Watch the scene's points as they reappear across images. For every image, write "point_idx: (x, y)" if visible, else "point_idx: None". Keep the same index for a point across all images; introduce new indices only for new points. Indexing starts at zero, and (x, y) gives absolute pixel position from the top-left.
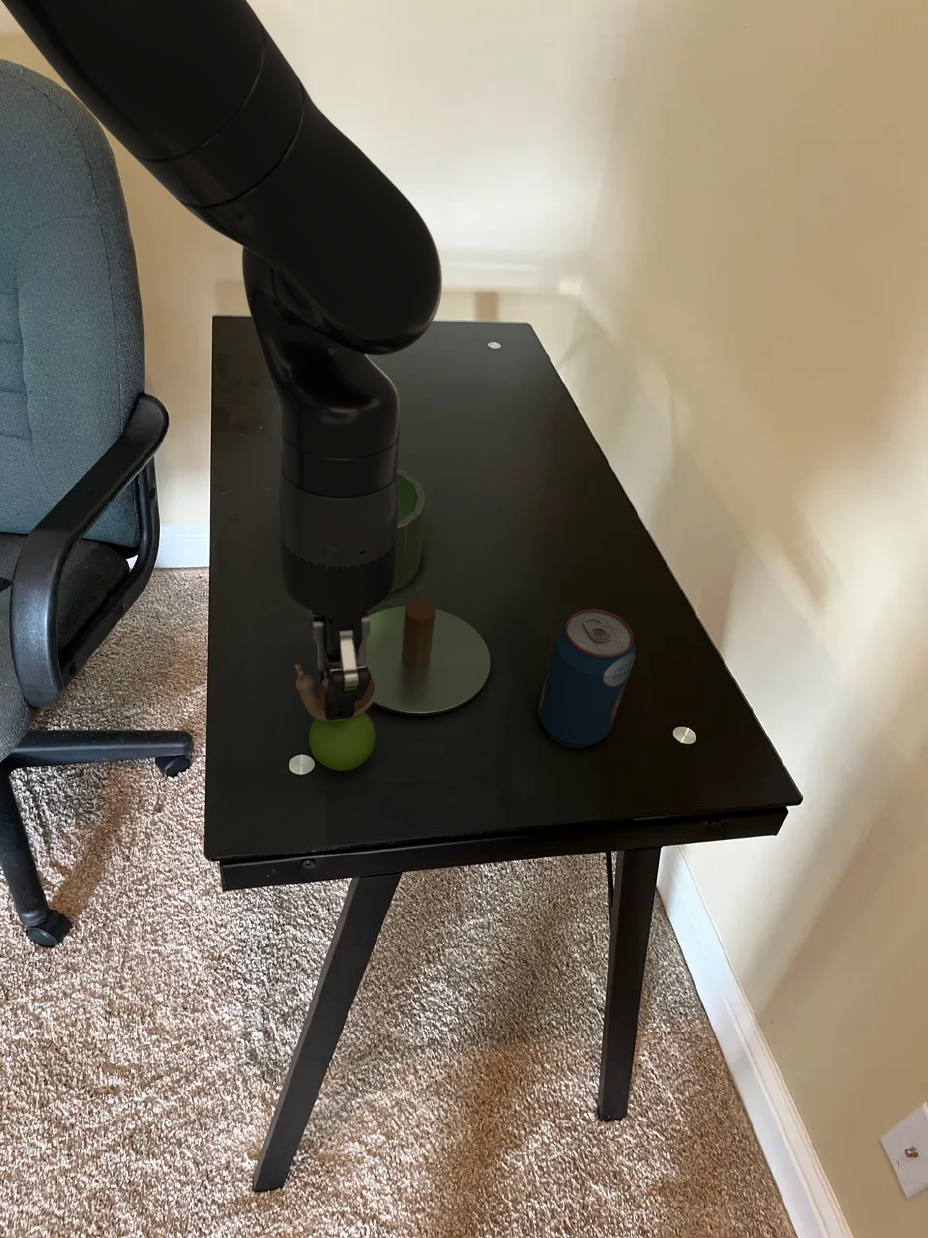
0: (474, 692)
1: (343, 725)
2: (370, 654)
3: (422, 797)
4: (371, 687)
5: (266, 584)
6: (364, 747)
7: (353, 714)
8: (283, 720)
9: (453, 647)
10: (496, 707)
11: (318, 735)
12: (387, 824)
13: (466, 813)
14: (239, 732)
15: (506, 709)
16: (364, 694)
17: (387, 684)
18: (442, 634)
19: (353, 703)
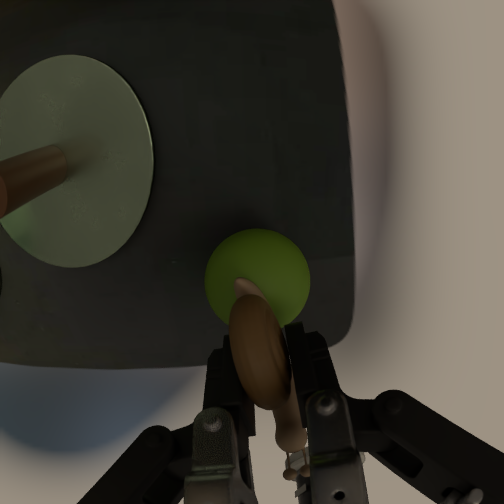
0: (105, 68)
1: (279, 308)
2: (62, 230)
3: (301, 138)
4: (263, 322)
5: (20, 333)
6: (295, 256)
7: (301, 323)
8: (183, 314)
9: (30, 115)
10: (125, 35)
11: (282, 327)
12: (342, 186)
13: (327, 80)
14: (207, 350)
15: (129, 22)
16: (450, 421)
17: (106, 202)
18: (13, 136)
19: (307, 346)
